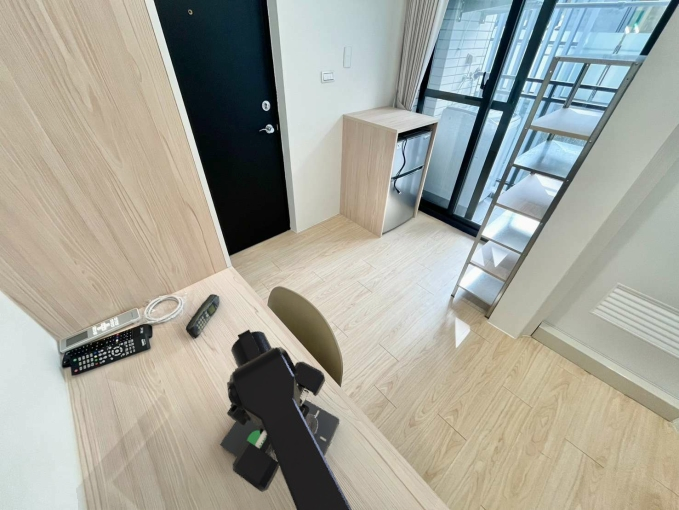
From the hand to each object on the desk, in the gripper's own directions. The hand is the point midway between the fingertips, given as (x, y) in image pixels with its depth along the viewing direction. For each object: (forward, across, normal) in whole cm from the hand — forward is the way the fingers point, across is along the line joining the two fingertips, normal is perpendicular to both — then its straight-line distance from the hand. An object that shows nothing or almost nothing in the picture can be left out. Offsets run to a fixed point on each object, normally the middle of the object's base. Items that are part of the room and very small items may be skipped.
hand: (290, 430), depth 52 cm
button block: (+12, +3, -10) cm, 16 cm away
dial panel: (+12, -3, +2) cm, 12 cm away
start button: (+8, +4, -7) cm, 12 cm away
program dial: (+9, -3, +1) cm, 10 cm away
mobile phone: (+12, -15, -43) cm, 47 cm away
